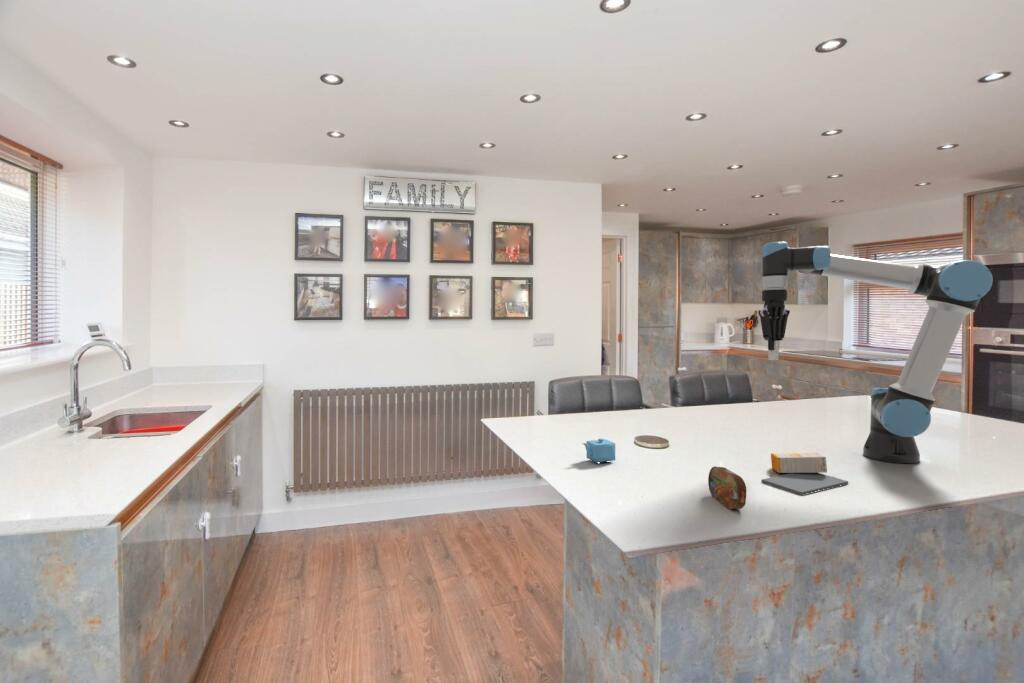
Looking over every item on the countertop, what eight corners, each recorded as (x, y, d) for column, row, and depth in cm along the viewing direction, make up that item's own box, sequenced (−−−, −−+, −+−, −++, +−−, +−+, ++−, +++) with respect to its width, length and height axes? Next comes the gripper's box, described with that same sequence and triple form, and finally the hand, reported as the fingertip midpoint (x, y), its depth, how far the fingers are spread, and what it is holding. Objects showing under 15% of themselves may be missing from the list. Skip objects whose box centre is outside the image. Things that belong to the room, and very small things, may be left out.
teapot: (586, 466, 163) (586, 442, 162) (577, 461, 169) (577, 438, 168) (619, 462, 167) (619, 439, 167) (609, 457, 173) (609, 435, 172)
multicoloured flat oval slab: (706, 493, 138) (707, 462, 138) (718, 492, 138) (718, 461, 138) (735, 515, 123) (736, 480, 123) (748, 514, 123) (749, 479, 123)
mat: (807, 472, 156) (807, 469, 155) (848, 484, 145) (848, 481, 145) (761, 482, 147) (761, 479, 147) (801, 495, 136) (801, 492, 136)
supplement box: (778, 473, 152) (827, 473, 149) (776, 457, 153) (826, 456, 149) (771, 468, 160) (818, 468, 157) (770, 452, 161) (817, 452, 157)
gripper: (777, 290, 179) (776, 358, 180) (751, 289, 173) (750, 360, 174) (797, 289, 172) (796, 359, 173) (771, 288, 166) (770, 361, 167)
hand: (773, 359), depth 174 cm, fingers closed
